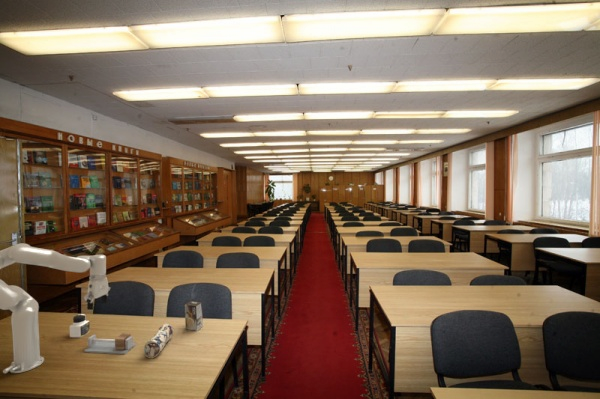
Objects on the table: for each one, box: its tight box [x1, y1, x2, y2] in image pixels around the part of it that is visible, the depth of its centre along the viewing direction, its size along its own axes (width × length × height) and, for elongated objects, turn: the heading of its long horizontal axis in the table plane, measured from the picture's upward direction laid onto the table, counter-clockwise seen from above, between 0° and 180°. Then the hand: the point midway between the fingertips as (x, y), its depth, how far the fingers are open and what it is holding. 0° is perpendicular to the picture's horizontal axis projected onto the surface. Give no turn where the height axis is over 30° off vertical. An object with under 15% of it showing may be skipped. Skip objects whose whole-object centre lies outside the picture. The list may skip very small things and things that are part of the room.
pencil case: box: [143, 322, 174, 359], centre depth 161 cm, size 22×8×10 cm, turn 5°
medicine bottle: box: [68, 313, 91, 338], centre depth 175 cm, size 7×7×12 cm
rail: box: [83, 334, 137, 355], centre depth 160 cm, size 9×24×6 cm, turn 85°
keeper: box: [114, 332, 132, 350], centre depth 159 cm, size 6×5×6 cm
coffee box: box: [184, 300, 204, 332], centre depth 183 cm, size 9×6×16 cm
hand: (97, 306), depth 163 cm, fingers open, 9 cm apart
